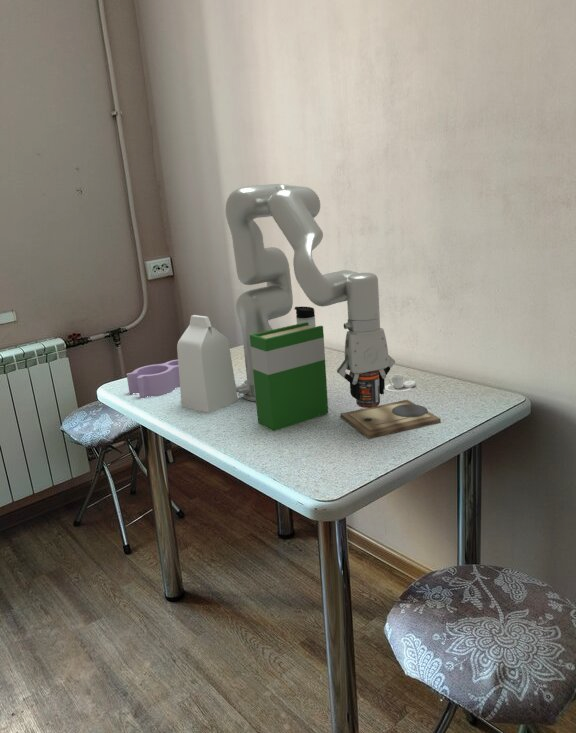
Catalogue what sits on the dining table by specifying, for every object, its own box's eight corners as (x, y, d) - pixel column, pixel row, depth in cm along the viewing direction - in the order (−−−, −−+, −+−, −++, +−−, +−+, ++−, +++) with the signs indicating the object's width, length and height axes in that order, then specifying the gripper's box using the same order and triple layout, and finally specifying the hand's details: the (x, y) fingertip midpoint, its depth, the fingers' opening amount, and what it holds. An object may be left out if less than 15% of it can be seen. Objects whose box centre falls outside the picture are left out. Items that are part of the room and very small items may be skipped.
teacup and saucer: (417, 385, 182) (417, 372, 181) (410, 394, 175) (410, 381, 174) (388, 383, 186) (388, 370, 185) (381, 392, 179) (380, 378, 178)
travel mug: (299, 361, 214) (295, 305, 208) (318, 361, 213) (315, 304, 207) (297, 367, 208) (293, 309, 202) (317, 366, 207) (313, 308, 201)
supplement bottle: (353, 408, 152) (351, 364, 149) (359, 399, 158) (357, 357, 154) (377, 409, 150) (375, 365, 147) (382, 400, 155) (380, 358, 152)
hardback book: (312, 406, 171) (306, 322, 164) (328, 413, 165) (323, 326, 158) (258, 423, 162) (249, 334, 155) (273, 431, 156) (265, 339, 149)
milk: (181, 405, 180) (169, 318, 172) (211, 393, 188) (201, 310, 180) (208, 413, 172) (197, 322, 165) (238, 400, 180) (228, 313, 173)
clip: (178, 376, 208) (175, 357, 206) (199, 383, 199) (197, 363, 197) (125, 393, 195) (122, 372, 193) (145, 401, 187) (142, 379, 185)
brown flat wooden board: (368, 438, 147) (368, 433, 147) (340, 417, 162) (340, 412, 161) (442, 421, 153) (442, 416, 153) (408, 402, 168) (408, 398, 168)
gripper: (338, 333, 142) (342, 406, 147) (403, 322, 147) (406, 393, 152) (325, 327, 149) (330, 397, 154) (388, 317, 154) (391, 385, 159)
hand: (367, 394), depth 153 cm, fingers closed on supplement bottle, 6 cm apart
